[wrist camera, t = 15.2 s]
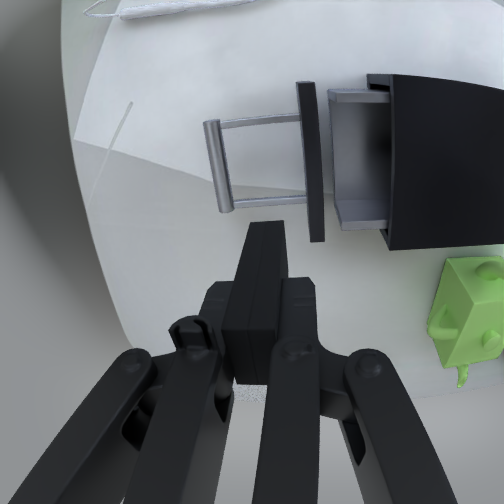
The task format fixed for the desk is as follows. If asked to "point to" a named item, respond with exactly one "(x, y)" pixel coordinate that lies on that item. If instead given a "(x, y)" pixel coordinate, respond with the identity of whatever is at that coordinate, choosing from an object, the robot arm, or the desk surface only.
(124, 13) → the earphone
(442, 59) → the desk surface
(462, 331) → the teapot
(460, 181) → the black box
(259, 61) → the desk surface
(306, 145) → the drawer
